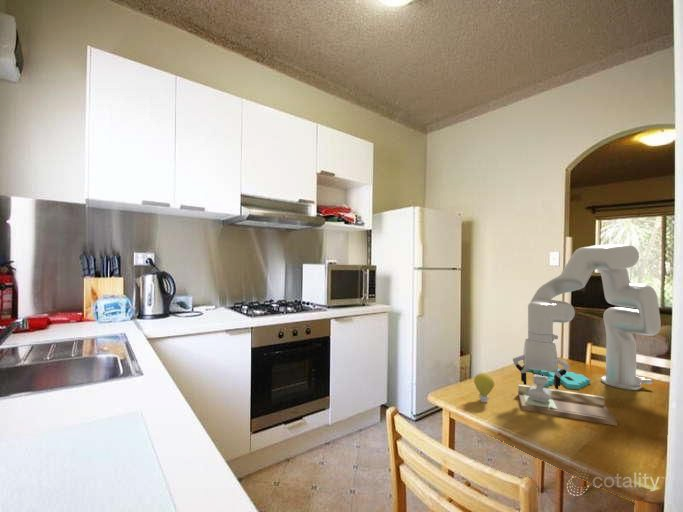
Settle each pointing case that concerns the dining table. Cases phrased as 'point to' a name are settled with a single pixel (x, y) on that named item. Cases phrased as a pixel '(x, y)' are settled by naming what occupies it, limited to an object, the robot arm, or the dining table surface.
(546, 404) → the end mark
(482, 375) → the light bulb
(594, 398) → the brown piece
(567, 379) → the teal pixel sprite
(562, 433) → the dining table surface
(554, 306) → the robot arm
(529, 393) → the stamp
